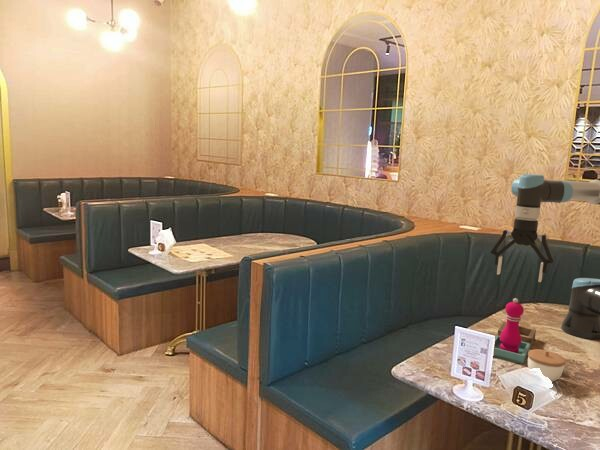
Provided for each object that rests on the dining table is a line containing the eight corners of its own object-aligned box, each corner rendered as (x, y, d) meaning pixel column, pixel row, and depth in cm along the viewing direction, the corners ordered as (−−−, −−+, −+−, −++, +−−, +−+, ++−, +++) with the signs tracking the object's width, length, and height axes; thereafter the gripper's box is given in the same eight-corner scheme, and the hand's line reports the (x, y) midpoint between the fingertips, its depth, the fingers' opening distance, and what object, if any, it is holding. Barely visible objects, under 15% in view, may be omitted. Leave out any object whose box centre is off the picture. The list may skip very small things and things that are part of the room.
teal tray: (529, 351, 174) (530, 343, 174) (523, 364, 163) (524, 356, 162) (495, 342, 181) (496, 335, 180) (487, 354, 169) (488, 346, 169)
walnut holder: (534, 338, 187) (536, 329, 186) (530, 348, 177) (531, 338, 176) (502, 331, 193) (504, 321, 192) (496, 340, 183) (498, 330, 182)
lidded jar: (519, 376, 154) (523, 349, 152) (533, 367, 160) (537, 341, 159) (553, 390, 146) (557, 361, 144) (567, 380, 152) (571, 353, 151)
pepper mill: (521, 356, 167) (529, 302, 164) (500, 353, 169) (507, 300, 165) (517, 348, 174) (524, 296, 171) (496, 345, 176) (503, 294, 172)
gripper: (486, 215, 167) (479, 273, 171) (566, 224, 154) (557, 286, 157) (491, 213, 173) (484, 269, 177) (568, 222, 160) (559, 282, 163)
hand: (518, 277), depth 167 cm, fingers open, 13 cm apart
